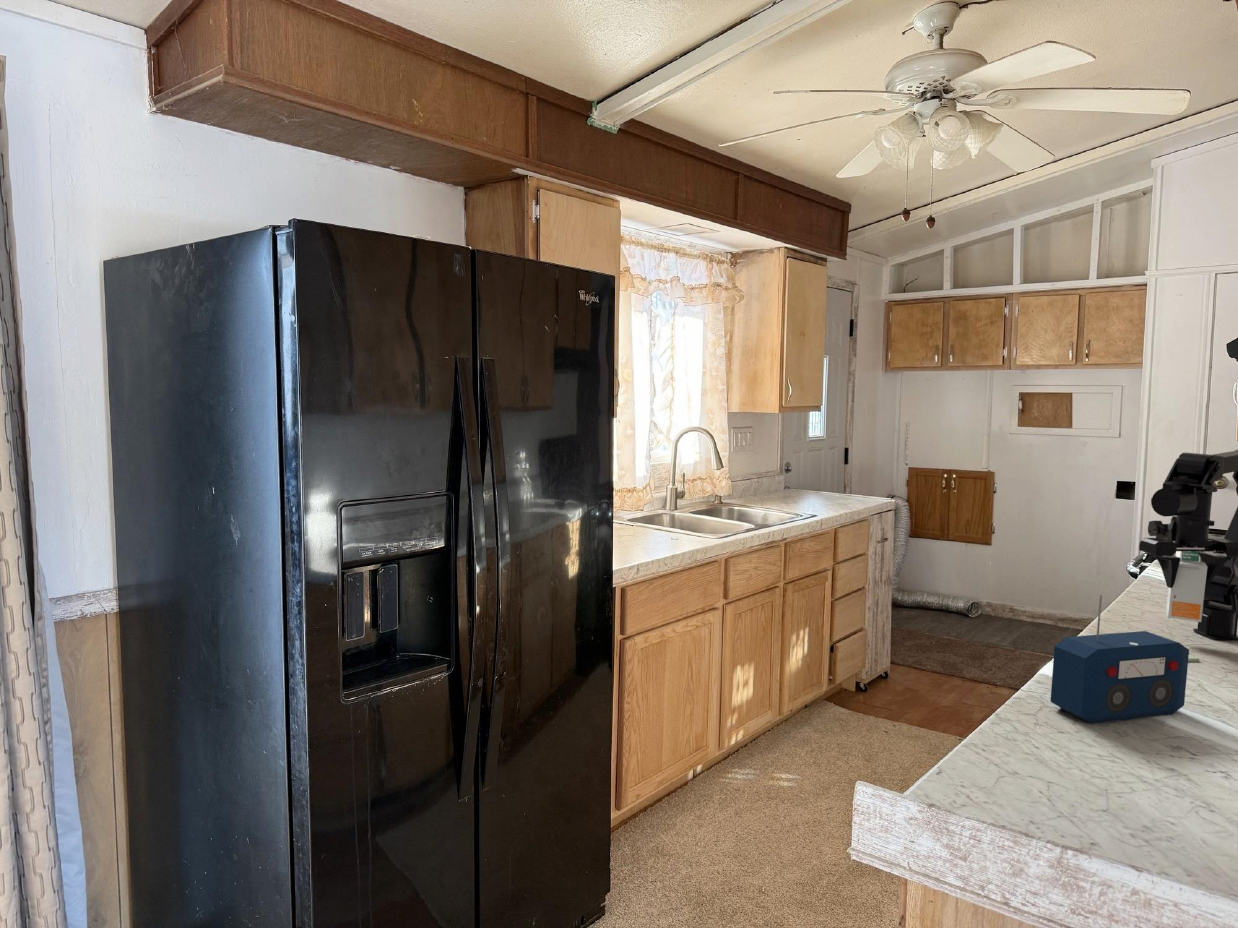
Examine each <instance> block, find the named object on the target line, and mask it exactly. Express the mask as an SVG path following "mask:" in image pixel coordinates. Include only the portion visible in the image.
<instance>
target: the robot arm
mask: <svg viewBox="0 0 1238 928" xmlns="http://www.w3.org/2000/svg"><path fill="white" fill-rule="evenodd" d="M1229 473H1230V474H1231V473H1233V474H1232V479H1233V480H1234V482H1235V483H1236V488H1235V492H1236V495H1237V497H1238V449H1235V450H1233V451H1227V452H1218V453H1213V454H1207V453H1198V452H1197V453H1196V452H1181V454H1180V455H1179V456H1178V457H1177V458H1176V459H1175V461H1174V462H1173V465H1172V467H1171V468H1170V470H1169V472H1168V474H1167V476H1166V478H1165V480H1164V481H1163V482H1162V488H1160V489H1158V490H1156V491H1155V492H1154V494H1153V495H1152V496H1151V499H1150V505H1151V507H1152V510H1153V511H1154V512H1155V513H1156V514H1157V515H1159V516H1162V517H1171V518H1170V523H1163V522H1162V520H1151V521H1148V526H1147V533H1148V536H1150V537H1143V538H1142V539H1141V540H1140V542H1139V545H1138V546H1139V547H1138V550H1139V551H1140V552H1143V553H1147V554H1149V556H1152V557H1154V558H1156V560H1157V562H1158V563H1159V566H1160V568H1161V571H1162V574H1163V577H1164V581H1165V584H1166V587H1167V588H1173V585H1174V583H1175V579H1176V575H1177V571H1178V567H1179V563H1180V559H1181V558H1179V557H1176V551H1204V552H1198V553H1199V556H1200V558H1201V560H1202V562H1204V563H1205V564H1206V565H1207V575H1206V584H1205V593H1204V601H1203V610H1202V619H1201V622H1197V628H1193V632H1195V633H1197V634H1200V635H1202V636H1205V637H1207V638H1210V639H1212V640H1216V641H1217V640H1221V641H1223V640H1233V641H1234V640H1238V635H1237V634H1238V506H1237V507H1236V509H1235V511H1234V514H1233V516H1232V518H1231V521H1230V524H1229V526H1228V528H1227V530H1226V532H1225V534H1224V537H1223V538H1221V537H1220V538H1219V537H1217V538H1214V537H1213V538H1212V537H1211V538H1210V537H1209V532H1210V527H1214V526H1215V521H1214V520H1211V509H1212V503H1213V501H1212V499H1213V493H1216V492H1218V488H1217V487H1216V486H1215V485H1214V484H1215V482H1217V481H1220V480H1221V479H1223V477H1224V474H1225V475H1226V474H1229Z"/></svg>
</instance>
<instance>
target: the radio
mask: <svg viewBox="0 0 1238 928" xmlns="http://www.w3.org/2000/svg"><path fill="white" fill-rule="evenodd" d="M1102 598H1103V594H1099V604H1098V616H1097V625H1096V626H1097V627H1096V628H1097V630H1096V634H1090V635H1089V634H1088V635H1078V636H1077V635H1075V636H1066V637H1065V638H1064V639H1062V640H1060V642H1058V643H1056V644H1055V645H1054V648H1053V649H1054V650H1053V661H1052V674H1051V675H1052V676H1051V677H1052V678H1051V690H1050V701H1049V702H1051V703H1052V704H1053V705H1056V706H1057V707H1058V708H1060V709H1062V710H1065V711H1066V712H1068V713H1070V714H1072V715H1074V716H1076V717H1078V718H1080V719H1083V720H1084V721H1086V722H1088V723H1090V724H1098V723H1099V724H1100V723H1107V722H1115V721H1116V722H1117V720H1118V721H1125V720H1126V721H1127V720H1134V719H1143V718H1144V719H1145V718H1153V717H1154V718H1155V717H1162V716H1163V717H1164V716H1172V715H1174V714H1175V713H1176V712H1178V711H1179V710H1180V709H1182V708H1183V707H1184V706H1185V697H1186V688H1187V677H1188V666H1189V662H1188V657H1189V654H1190V649H1189V648H1188V647H1186V646H1185V645H1183V644H1182V643H1180V642H1179V641H1176V640H1172V639H1171V638H1170V639H1169V638H1167V637H1164V636H1160V635H1158V634H1156V633H1152V632H1149V631H1146V630H1141V631H1140V630H1139V631H1130V632H1129V631H1127V632H1116V633H1113V632H1112V633H1101V634H1100V625H1101V623H1100V622H1101V611H1102V600H1103V599H1102Z"/></svg>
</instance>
